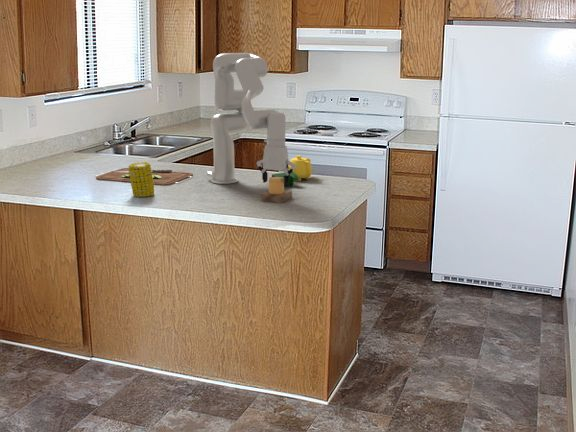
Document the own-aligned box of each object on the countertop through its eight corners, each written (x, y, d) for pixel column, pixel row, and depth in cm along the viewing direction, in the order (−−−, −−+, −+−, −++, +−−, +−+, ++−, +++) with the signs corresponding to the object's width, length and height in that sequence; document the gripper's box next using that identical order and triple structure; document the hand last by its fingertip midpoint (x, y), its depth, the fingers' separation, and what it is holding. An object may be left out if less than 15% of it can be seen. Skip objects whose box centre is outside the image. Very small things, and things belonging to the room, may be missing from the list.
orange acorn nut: (267, 193, 315) (266, 179, 314) (272, 190, 321) (272, 176, 319) (280, 194, 313) (280, 180, 312) (285, 191, 319) (285, 177, 317)
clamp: (279, 197, 340) (275, 181, 335) (273, 191, 345) (268, 176, 339) (301, 185, 344) (297, 169, 338) (294, 179, 348) (290, 164, 343)
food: (156, 200, 323) (132, 202, 320) (153, 188, 333) (129, 191, 330) (154, 167, 315) (129, 170, 313) (150, 156, 325) (126, 159, 323)
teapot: (283, 175, 365) (283, 152, 362) (311, 175, 365) (311, 153, 362) (283, 182, 351) (283, 158, 348) (312, 182, 351) (312, 158, 348)
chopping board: (88, 180, 357) (88, 173, 357) (120, 169, 382) (119, 163, 381) (172, 187, 342) (172, 180, 341) (199, 176, 366) (199, 170, 366)
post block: (260, 200, 315) (260, 183, 313) (270, 195, 324) (270, 178, 322) (283, 203, 312) (283, 185, 310) (291, 197, 321) (291, 180, 319)
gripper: (253, 142, 312) (253, 183, 316) (292, 145, 306) (291, 186, 310) (260, 139, 318) (260, 179, 323) (298, 142, 312) (298, 183, 317)
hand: (275, 183), depth 316 cm, fingers open, 9 cm apart
